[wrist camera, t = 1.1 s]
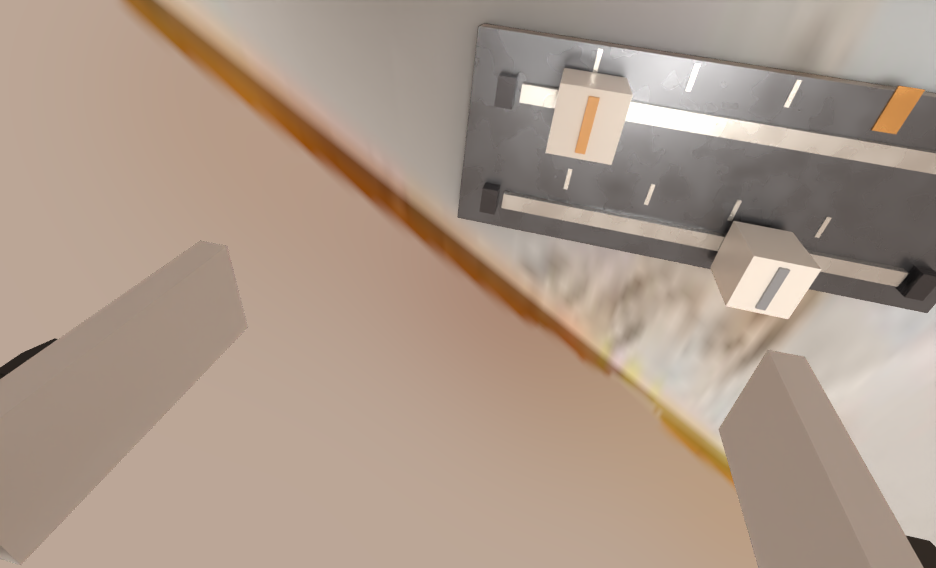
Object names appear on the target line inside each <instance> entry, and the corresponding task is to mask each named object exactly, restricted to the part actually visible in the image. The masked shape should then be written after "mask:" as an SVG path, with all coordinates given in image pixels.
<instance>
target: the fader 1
mask: <svg viewBox="0 0 936 568" xmlns="http://www.w3.org/2000/svg"><path fill="white" fill-rule="evenodd" d="M632 96H633V94H632V91H631V88H630V85H629V83H628V80H627V78H625V77H618V76H612V75H606V74H600V73H594V72H588V71H582V70H575V69H569V68H564V71H563V75H562V78H561V82H560V87H559V92H558V96H557V101H556V106H555V110H554V115H553V119H552V124H551V129H550V133H549V138H548V143H547V147H546V152H545V153H548V154H554V155H559V156H565V157H570V158H576V159H581V160H587V161H592V162H597V163H603V164H608V165H612V162H613V159H614V155H615V152H616V149H617V146H618V142H619V139H620V136H621V132H622V129H623V126H624V123H625V119H626V116H627V113H628V110H629V106H630V103H631V100H632Z"/></svg>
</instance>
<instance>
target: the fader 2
mask: <svg viewBox="0 0 936 568" xmlns="http://www.w3.org/2000/svg"><path fill="white" fill-rule="evenodd" d="M710 268H711V271H712V273H713V275H714V278H715V280H716V283H717V285H718V288H719V290H720V293H721V295H722V298H723V300H724V302H725V305H726V306H728V307H733V308H738V309H743V310H747V311H752V312H757V313H761V314H766V315H771V316H776V317H780V318H785V319H788V318H789V317H790V316H791V314H792V313H793V311H794V310H795V308H796V307H797V305H798V304H799V302H800V301H801V299H802V298H803V296H804V295H805V293H806V292H807V290H808V289H809V287H810V286H811V284H812V283H813V281H814V280H815V278H816V277H817V275H818V274H819V273H820V271H821V270H822V269H821V268H820V267H819V266H818V264H817V263H816V262H815V260H814V259H813V258H812V256H811V255H810V254H809V253H808V251H807V250H806V249H805V247H804V246H803V245H802V244H801V242H800V241H799V240H798V238H797V237H796V236H795V235H794V233H793V232H790V231H784V230H779V229H774V228H769V227H763V226H758V225H753V224H748V223H743V222H737V221H733V223H732V225H731V227H730V229H729V231H728V233H727V235H726V237H725V239H724V241H723V243H722V245H721V247H720V249H719V251H718V253H717V255H716V257H715V259H714V261H713V263H712V265H711V267H710Z"/></svg>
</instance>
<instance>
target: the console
mask: <svg viewBox="0 0 936 568" xmlns="http://www.w3.org/2000/svg"><path fill="white" fill-rule="evenodd" d="M564 68H569V69H575V70H582V71H588V72H594V73H600V74H606V75H612V76H618V77H625V78H627V80H628V83H629V85H630V88H631V91H632V94H633V96H632V100H631V103H630V106H629V110H628V113H627V116H626V119H625V123H624V126H623V129H622V132H621V136H620V139H619V142H618V146H617V149H616V152H615V155H614V159H613V162H612V165H608V164H603V163H597V162H592V161H587V160H581V159H576V158H570V157H565V156H559V155H554V154H548V153H545V152H546V147H547V143H548V138H549V133H550V129H551V124H552V119H553V115H554V110H555V106H556V101H557V96H558V92H559V87H560V82H561V78H562V75H563V71H564ZM458 218H463V219H468V220H473V221H477V222H482V223H487V224H492V225H497V226H502V227H507V228H512V229H517V230H522V231H527V232H531V233H536V234H541V235H546V236H551V237H556V238H561V239H566V240H571V241H576V242H581V243H585V244H590V245H595V246H600V247H605V248H610V249H615V250H620V251H625V252H630V253H635V254H639V255H644V256H649V257H654V258H659V259H664V260H669V261H674V262H679V263H684V264H689V265H693V266H698V267H703V268H708V269H711V268H710V267H711V265H712V263H713V261H714V259H715V257H716V255H717V253H718V251H719V249H720V247H721V245H722V243H723V241H724V239H725V237H726V235H727V233H728V231H729V229H730V227H731V225H732V223H733V221H737V222H743V223H748V224H753V225H758V226H763V227H769V228H774V229H779V230H784V231H790V232H793V233H794V235H795V236H796V237H797V238H798V240H799V241H800V242H801V244H802V245H803V246H804V247H805V249H806V250H807V251H808V253H809V254H810V255H811V256H812V258H813V259H814V260H815V262H816V263H817V264H818V266H819V267H820V268H821V269H822V270H821V271H820V273H819V274H818V275H817V277H816V278H815V280H814V281H813V283H812V284H811V286H810V287H809V289H811V290H816V291H821V292H826V293H831V294H836V295H841V296H846V297H851V298H856V299H860V300H865V301H870V302H875V303H880V304H885V305H890V306H895V307H900V308H905V309H910V310H914V311H919V312H924V313H928V312H929V310H930V309H931V308H932V307H933V306H934V305H935V304H936V93H932V92H925V90H924V89H917V88H911V87H904V86H898V87H893V86H886V85H880V84H873V83H867V82H860V81H854V80H848V79H841V78H835V77H828V76H822V75H815V74H809V73H802V72H796V71H789V70H783V69H776V68H770V67H763V66H757V65H751V64H744V63H738V62H731V61H725V60H718V59H712V58H705V57H699V56H692V55H686V54H679V53H673V52H666V51H660V50H654V49H647V48H641V47H634V46H628V45H621V44H615V43H608V42H602V41H595V40H589V39H582V38H576V37H569V36H563V35H557V34H550V33H544V32H537V31H531V30H524V29H518V28H511V27H505V26H498V25H492V24H485V23H484V24H482V25H480V26H479V27H478V36H477V45H476V55H475V64H474V73H473V82H472V91H471V100H470V109H469V118H468V127H467V136H466V145H465V154H464V163H463V172H462V181H461V191H460V200H459V209H458Z"/></svg>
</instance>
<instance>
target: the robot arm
mask: <svg viewBox="0 0 936 568" xmlns="http://www.w3.org/2000/svg"><path fill="white" fill-rule="evenodd" d="M247 328H248V326H247V322H246V318H245V314H244V310H243V306H242V302H241V298H240V295H239V290H238V286H237V283H236V279H235V275H234V271H233V267H232V263H231V260H230V255H229V251H228V247H227V246H226V245H220V244H215V243H210V242H205V241H199V242H197V243H196V244H195V245H193V246H192V247H190V248H189V249H188V250H186V251H184V252H183V253H182V254H180V255H179V256H177V257H176V258H174V259H173V260H172V261H170V262H169V263H167V264H166V265H164V266H163V267H161V268H160V269H159V270H157V271H156V272H154V273H153V274H151V275H150V276H148V277H147V278H146V279H144V280H143V281H141V282H140V283H138V284H137V285H135V286H134V287H133V288H131V289H130V290H129V291H127V292H125V293H124V294H123V295H121V296H120V297H118V298H117V299H115V300H114V301H112V302H111V303H110V304H108V305H107V306H105V307H104V308H102V309H101V310H99V311H98V312H97V313H95V314H94V315H92V316H91V317H89V318H88V319H86V320H85V321H84V322H82V323H81V324H79V325H78V326H76V327H75V328H73V329H72V330H71V331H69V332H68V333H66V334H65V335H63V336H62V337H61V338H59V339H53V340H50V341H48V342H46V343H43V344H41V345H39V346H37V347H34V348H32V349H30V350H27V351H25V352H23V353H21V354H20V355H18V356H17V357H15V358H14V359H12V360H11V361H9V362H8V363H6V364H5V365H3V366H2V367H0V559H3V560H6V561H9V562H12V563H15V564H19V565H21V564H22V563H23V562H24V561H25V560H26V559H27V558H28V557H29V556H30V555H31V554H32V553H33V552H34V551H35V550H36V549H37V548H38V547H39V546H40V545H41V543H42V542H43V541H44V540H45V539H46V538H47V537H48V536H49V535H50V534H51V533H52V532H53V531H54V530H55V529H56V528H57V527H58V526H59V525H60V523H62V522H63V521H64V519H65V518H66V517H67V516H68V515H69V514H70V513H71V512H72V511H73V510H74V509H75V508H76V507H77V506H78V505H79V504H80V503H81V502H82V501H83V500H84V499H85V497H86V496H87V495H88V494H89V493H90V492H91V491H92V490H93V489H94V488H95V487H96V486H97V485H98V484H99V483H100V482H101V481H102V480H103V479H104V478H105V476H106V475H107V474H108V473H109V472H110V471H111V470H112V469H113V468H114V467H115V466H116V465H117V464H118V463H119V462H120V461H121V460H122V459H123V458H124V457H125V456H126V455H127V453H128V452H129V451H130V450H131V449H132V448H133V447H134V446H135V445H136V444H137V443H138V442H139V441H140V440H141V439H142V438H143V437H144V436H145V435H146V434H147V432H148V431H150V429H151V428H152V427H153V426H154V425H155V424H156V423H157V422H158V421H159V420H160V419H161V418H162V417H163V416H164V415H165V414H166V413H167V411H169V410H170V408H171V407H172V406H173V405H174V404H175V403H176V402H177V401H178V400H179V399H180V398H181V397H182V396H183V395H184V394H185V393H186V392H187V391H188V390H189V389H190V388H191V387H192V386H193V384H194V383H195V382H196V381H197V380H198V379H199V378H200V377H201V376H202V375H203V374H204V373H205V372H206V371H207V370H208V369H209V368H210V367H211V366H212V364H213V363H214V362H215V361H216V360H217V359H218V358H219V357H220V356H221V355H222V354H223V353H224V352H225V351H226V350H227V349H228V348H229V347H230V346H231V345H232V343H234V342H235V340H236V339H237V338H238V337H239V336H240V335H241V334H242V333H243V332H244V331H245V330H246V329H247ZM719 432H720V435H721V439H722V442H723V446H724V449H725V453H726V456H727V460H728V463H729V467H730V470H731V474H732V477H733V481H734V484H735V488H736V491H737V495H738V498H739V502H740V505H741V509H742V512H743V516H744V519H745V523H746V526H747V530H748V533H749V537H750V540H751V544H752V547H753V550H754V554H755V557H756V561H757V565H758V568H936V547H935V546H934V545H933V544H932V543H931V542H930V541H927V540H923V539H919V538H915V537H910V536H906V535H905V534H904V532H903V530H902V528H901V527H900V525H899V523H898V521H897V520H896V518H895V516H894V514H893V512H892V511H891V509H890V507H889V505H888V504H887V502H886V500H885V498H884V496H883V495H882V493H881V491H880V489H879V488H878V486H877V484H876V482H875V480H874V479H873V477H872V475H871V473H870V472H869V470H868V468H867V466H866V464H865V463H864V461H863V459H862V457H861V456H860V454H859V452H858V450H857V448H856V447H855V445H854V443H853V441H852V440H851V438H850V436H849V434H848V432H847V431H846V429H845V427H844V425H843V424H842V422H841V420H840V418H839V416H838V415H837V413H836V411H835V409H834V408H833V406H832V404H831V402H830V400H829V399H828V397H827V395H826V393H825V392H824V390H823V388H822V386H821V384H820V383H819V381H818V379H817V377H816V376H815V374H814V372H813V370H812V369H811V367H810V365H809V363H808V361H807V360H806V358H805V357H803V356H798V355H793V354H787V353H782V352H777V351H772V350H767V352H766V353H765V355H764V357H763V358H762V360H761V362H760V363H759V365H758V366H757V368H756V370H755V371H754V373H753V375H752V376H751V378H750V379H749V381H748V383H747V384H746V386H745V387H744V389H743V391H742V392H741V394H740V396H739V397H738V399H737V400H736V402H735V404H734V405H733V407H732V409H731V410H730V412H729V413H728V415H727V417H726V418H725V420H724V421H723V423H722V425H721V426H720V428H719Z"/></svg>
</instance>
